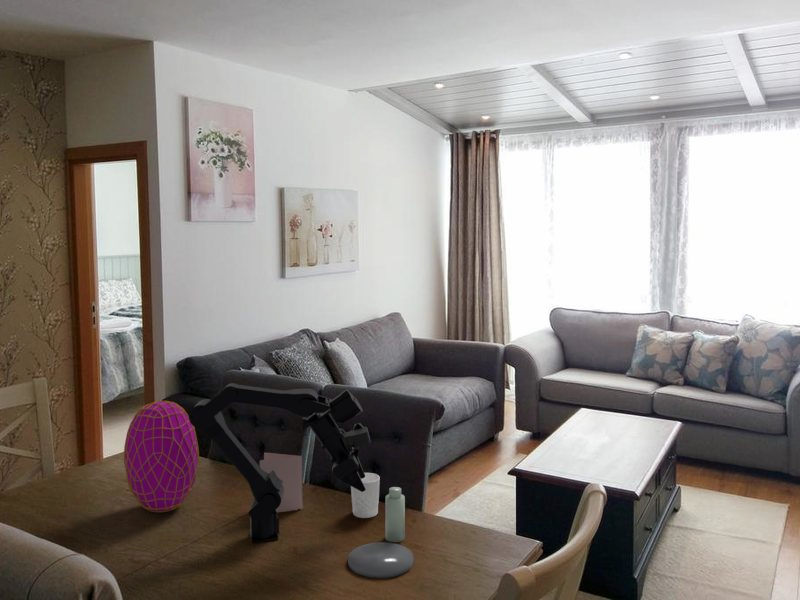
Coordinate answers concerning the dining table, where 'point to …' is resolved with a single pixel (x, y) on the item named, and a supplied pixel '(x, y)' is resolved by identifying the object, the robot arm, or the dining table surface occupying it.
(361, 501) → the white cup
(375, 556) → the gray round disc
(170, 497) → the decorative egg
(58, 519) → the dining table surface
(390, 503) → the pale green bottle
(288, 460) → the greeting card
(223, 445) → the robot arm
